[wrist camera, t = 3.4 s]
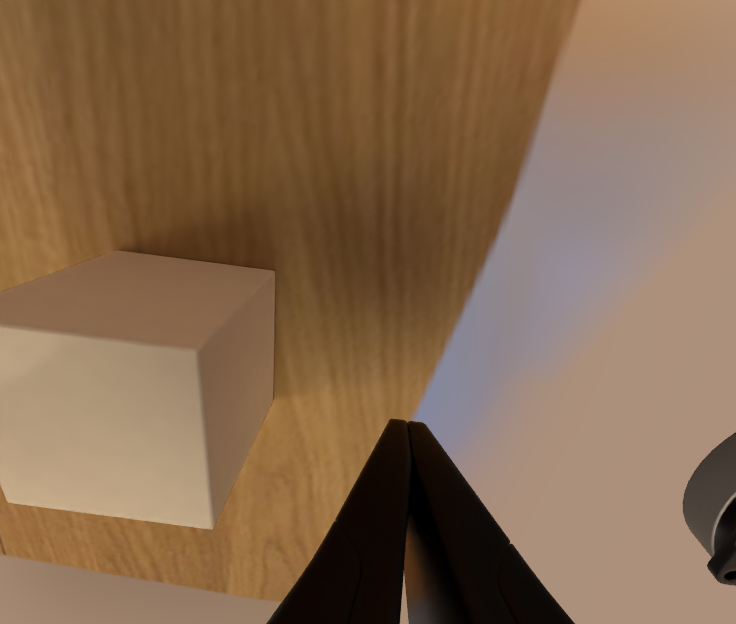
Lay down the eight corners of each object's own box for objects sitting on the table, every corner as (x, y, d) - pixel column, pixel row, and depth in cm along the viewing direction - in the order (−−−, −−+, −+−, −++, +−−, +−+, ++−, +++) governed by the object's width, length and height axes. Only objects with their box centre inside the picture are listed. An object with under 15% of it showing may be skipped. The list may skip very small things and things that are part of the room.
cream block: (276, 270, 11) (198, 350, 7) (273, 400, 13) (212, 531, 9) (115, 249, 11) (-72, 315, 7) (137, 382, 13) (6, 503, 9)
